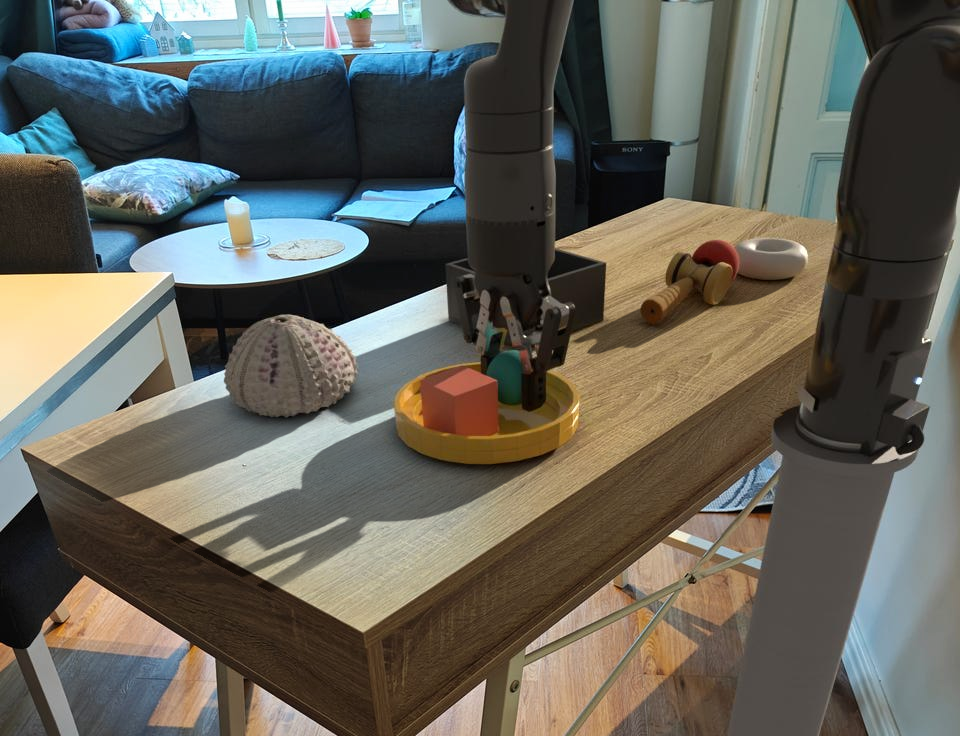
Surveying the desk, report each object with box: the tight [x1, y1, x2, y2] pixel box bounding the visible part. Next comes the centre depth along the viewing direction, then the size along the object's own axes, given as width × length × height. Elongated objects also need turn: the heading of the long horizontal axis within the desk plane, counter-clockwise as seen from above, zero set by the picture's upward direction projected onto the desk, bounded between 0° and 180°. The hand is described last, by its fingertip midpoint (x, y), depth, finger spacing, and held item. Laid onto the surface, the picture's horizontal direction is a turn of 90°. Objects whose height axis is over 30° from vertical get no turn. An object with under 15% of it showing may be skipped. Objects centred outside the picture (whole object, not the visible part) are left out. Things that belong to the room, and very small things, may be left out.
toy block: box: [420, 365, 498, 436], centre depth 81 cm, size 5×5×5 cm
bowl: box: [393, 361, 580, 465], centre depth 84 cm, size 17×17×3 cm
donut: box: [733, 237, 809, 281], centre depth 117 cm, size 10×4×10 cm
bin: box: [444, 247, 607, 347], centre depth 105 cm, size 13×13×7 cm
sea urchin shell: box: [223, 314, 359, 418], centre depth 89 cm, size 13×14×8 cm
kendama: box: [640, 239, 739, 326], centre depth 108 cm, size 8×6×18 cm
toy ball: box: [486, 349, 524, 406], centre depth 84 cm, size 5×5×5 cm
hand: (513, 399), depth 85 cm, fingers closed on toy ball, 5 cm apart
